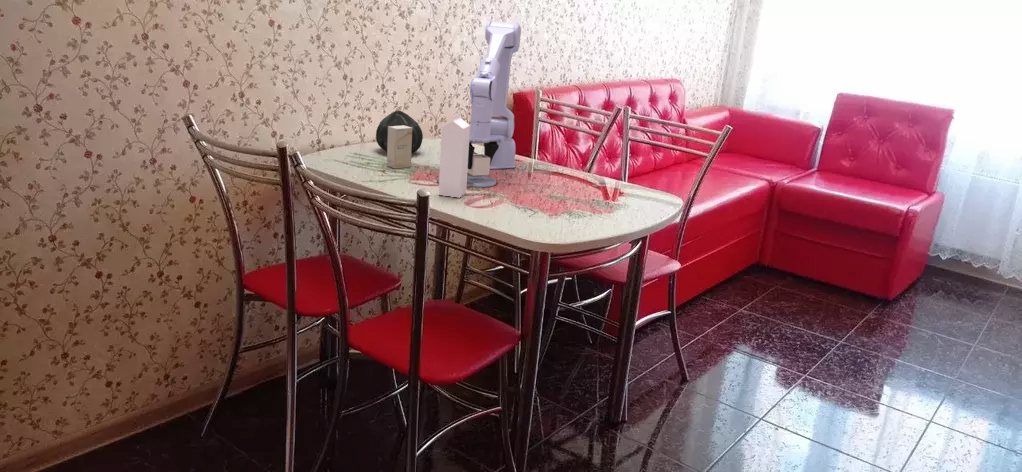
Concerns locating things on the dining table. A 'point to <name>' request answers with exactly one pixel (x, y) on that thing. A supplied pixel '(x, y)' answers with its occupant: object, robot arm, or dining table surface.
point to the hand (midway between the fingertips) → (477, 168)
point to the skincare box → (399, 146)
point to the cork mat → (467, 184)
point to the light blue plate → (481, 181)
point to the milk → (454, 157)
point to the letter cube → (480, 165)
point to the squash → (398, 120)
